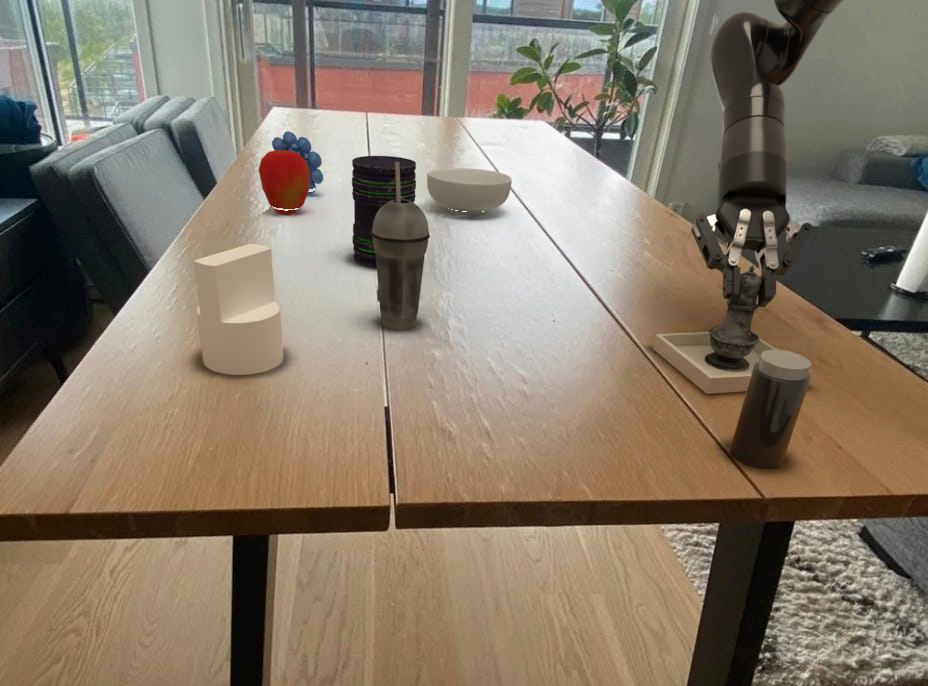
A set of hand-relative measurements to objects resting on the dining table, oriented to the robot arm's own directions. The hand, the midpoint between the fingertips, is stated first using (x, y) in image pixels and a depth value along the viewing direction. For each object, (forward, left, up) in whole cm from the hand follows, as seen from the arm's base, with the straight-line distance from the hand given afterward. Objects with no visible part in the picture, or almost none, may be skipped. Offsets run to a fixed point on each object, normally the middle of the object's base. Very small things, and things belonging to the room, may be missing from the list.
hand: (749, 302), depth 87 cm
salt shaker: (-1, -2, -9) cm, 9 cm away
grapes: (+43, -96, -9) cm, 106 cm away
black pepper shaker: (+8, +18, -9) cm, 22 cm away
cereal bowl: (+10, -81, -9) cm, 82 cm away
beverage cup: (+36, -21, -9) cm, 43 cm away
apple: (+46, -81, -9) cm, 94 cm away
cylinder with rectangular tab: (+56, -12, -9) cm, 58 cm away
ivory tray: (-1, -2, -9) cm, 9 cm away
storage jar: (+33, -49, -9) cm, 60 cm away
